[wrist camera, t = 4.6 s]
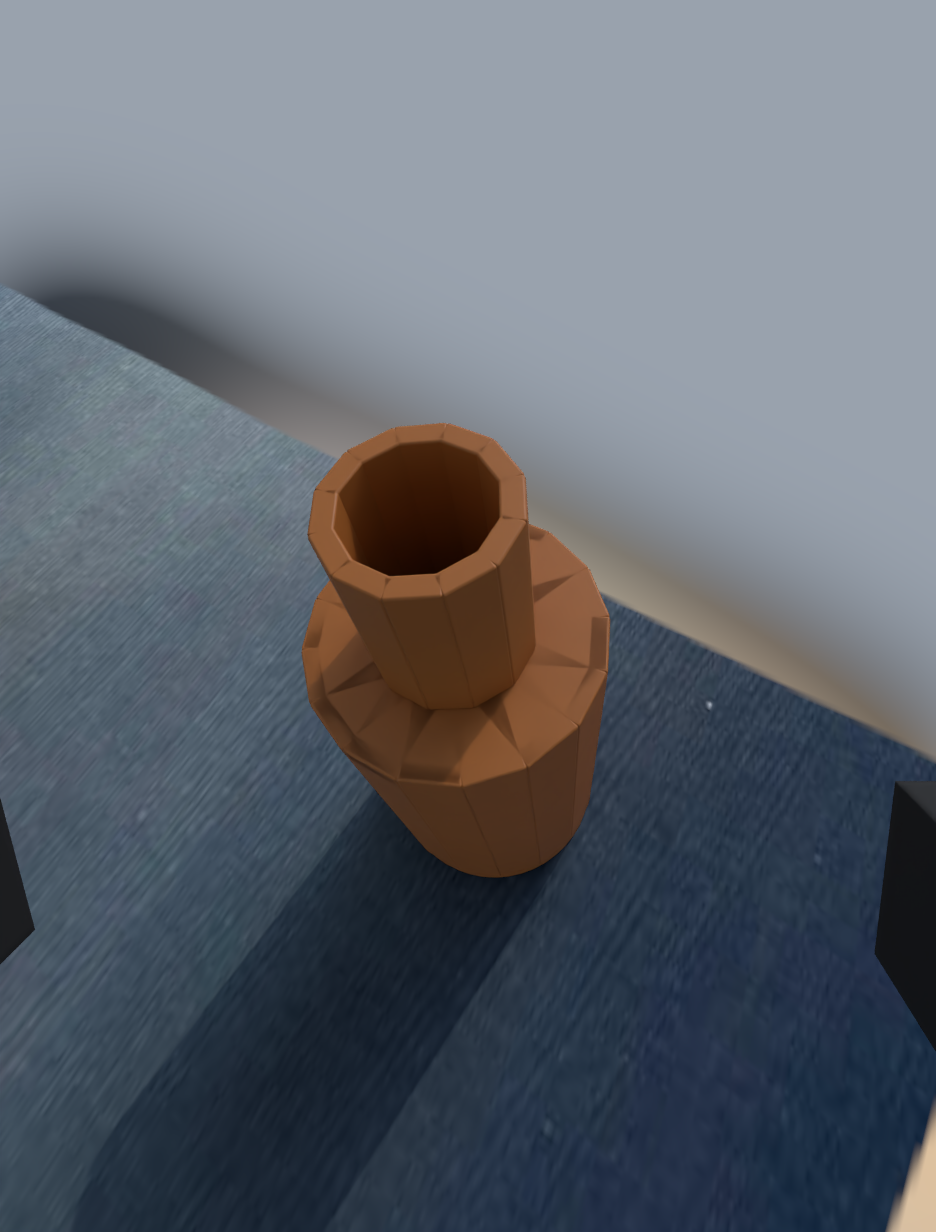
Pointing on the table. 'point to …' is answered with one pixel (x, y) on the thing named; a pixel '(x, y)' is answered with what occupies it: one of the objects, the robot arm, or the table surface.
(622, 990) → the table surface
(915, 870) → the robot arm
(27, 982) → the table surface
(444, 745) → the amber bottle
